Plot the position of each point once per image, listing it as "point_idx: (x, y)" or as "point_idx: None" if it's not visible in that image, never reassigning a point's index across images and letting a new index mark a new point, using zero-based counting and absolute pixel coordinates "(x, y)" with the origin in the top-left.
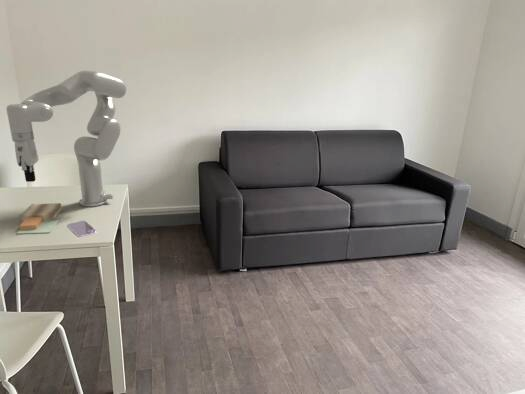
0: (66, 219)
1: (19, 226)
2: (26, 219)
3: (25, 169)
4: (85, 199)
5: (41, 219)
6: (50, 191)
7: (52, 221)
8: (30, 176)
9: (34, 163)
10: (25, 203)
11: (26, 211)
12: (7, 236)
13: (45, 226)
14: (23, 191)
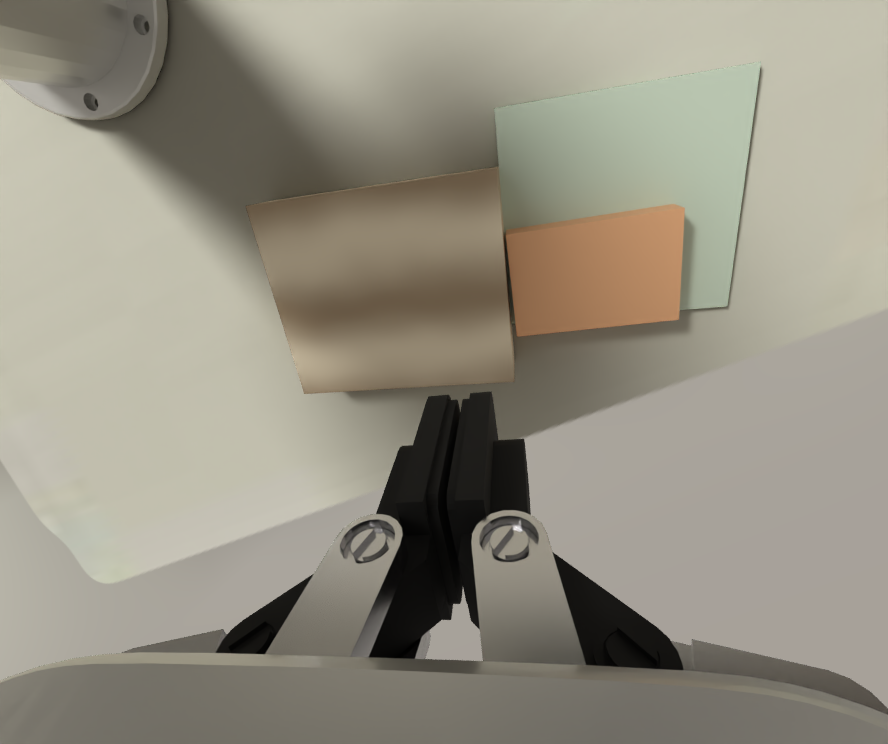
0: (458, 59)
1: (677, 317)
2: (557, 323)
3: (854, 696)
4: (98, 10)
5: (537, 228)
6: (31, 398)
7: (521, 151)
8: (525, 476)
9: (463, 685)
10: (236, 448)
11: (439, 372)
12: (749, 343)
13: (623, 159)
14: (95, 513)
